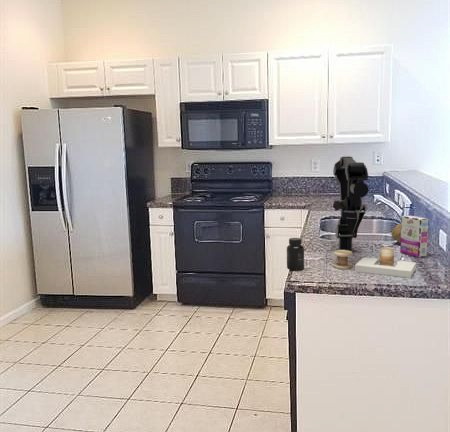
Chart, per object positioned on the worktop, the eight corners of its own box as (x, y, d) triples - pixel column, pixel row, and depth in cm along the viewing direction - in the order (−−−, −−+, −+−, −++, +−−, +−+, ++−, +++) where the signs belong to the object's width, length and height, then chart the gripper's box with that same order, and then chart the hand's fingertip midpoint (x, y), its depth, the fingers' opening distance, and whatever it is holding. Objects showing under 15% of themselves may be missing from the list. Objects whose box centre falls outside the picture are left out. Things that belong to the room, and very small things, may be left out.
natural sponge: (388, 244, 224) (389, 223, 223) (395, 241, 231) (396, 220, 229) (407, 247, 219) (408, 225, 217) (414, 243, 225) (415, 222, 224)
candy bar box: (428, 256, 202) (429, 218, 199) (418, 258, 200) (420, 219, 197) (408, 251, 212) (409, 214, 209) (399, 252, 210) (400, 215, 207)
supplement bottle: (302, 265, 193) (302, 236, 191) (305, 270, 186) (305, 240, 184) (285, 266, 192) (285, 237, 190) (288, 271, 186) (288, 241, 184)
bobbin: (336, 263, 195) (336, 249, 194) (353, 265, 191) (354, 250, 190) (331, 267, 189) (331, 253, 188) (349, 270, 185) (349, 254, 184)
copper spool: (380, 266, 189) (381, 246, 188) (394, 267, 187) (395, 247, 185) (378, 269, 185) (378, 249, 183) (392, 271, 182) (392, 250, 181)
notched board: (363, 263, 194) (363, 257, 194) (415, 268, 185) (416, 262, 184) (354, 271, 183) (355, 265, 183) (410, 278, 174) (410, 271, 173)
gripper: (341, 189, 206) (340, 225, 209) (328, 196, 190) (328, 234, 193) (367, 190, 201) (366, 227, 204) (357, 197, 185) (356, 236, 188)
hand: (353, 231), depth 197 cm, fingers open, 9 cm apart
